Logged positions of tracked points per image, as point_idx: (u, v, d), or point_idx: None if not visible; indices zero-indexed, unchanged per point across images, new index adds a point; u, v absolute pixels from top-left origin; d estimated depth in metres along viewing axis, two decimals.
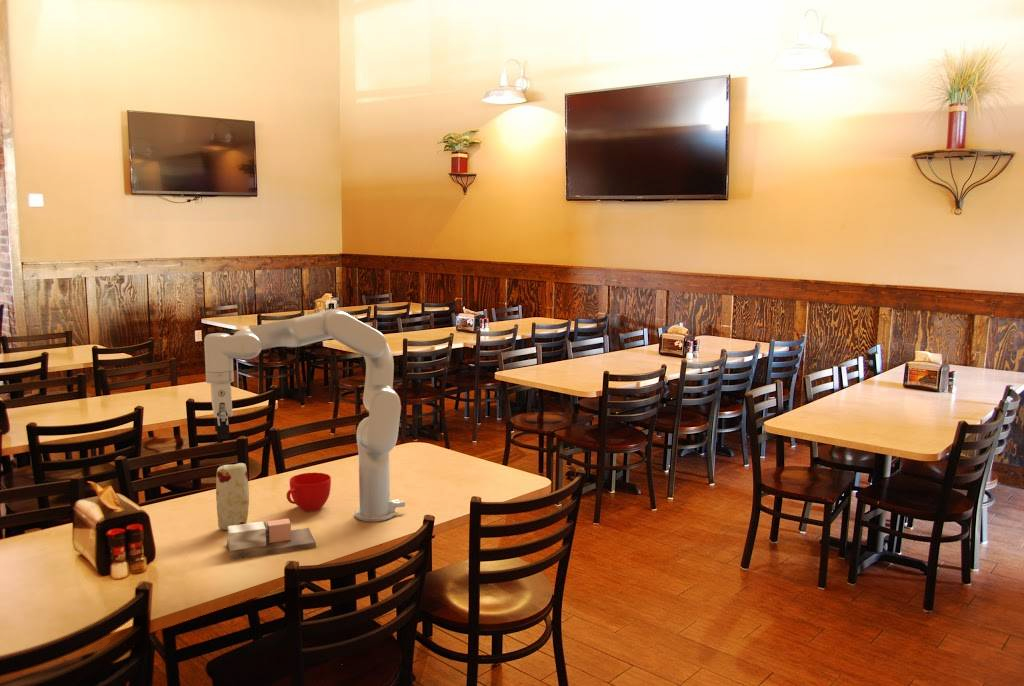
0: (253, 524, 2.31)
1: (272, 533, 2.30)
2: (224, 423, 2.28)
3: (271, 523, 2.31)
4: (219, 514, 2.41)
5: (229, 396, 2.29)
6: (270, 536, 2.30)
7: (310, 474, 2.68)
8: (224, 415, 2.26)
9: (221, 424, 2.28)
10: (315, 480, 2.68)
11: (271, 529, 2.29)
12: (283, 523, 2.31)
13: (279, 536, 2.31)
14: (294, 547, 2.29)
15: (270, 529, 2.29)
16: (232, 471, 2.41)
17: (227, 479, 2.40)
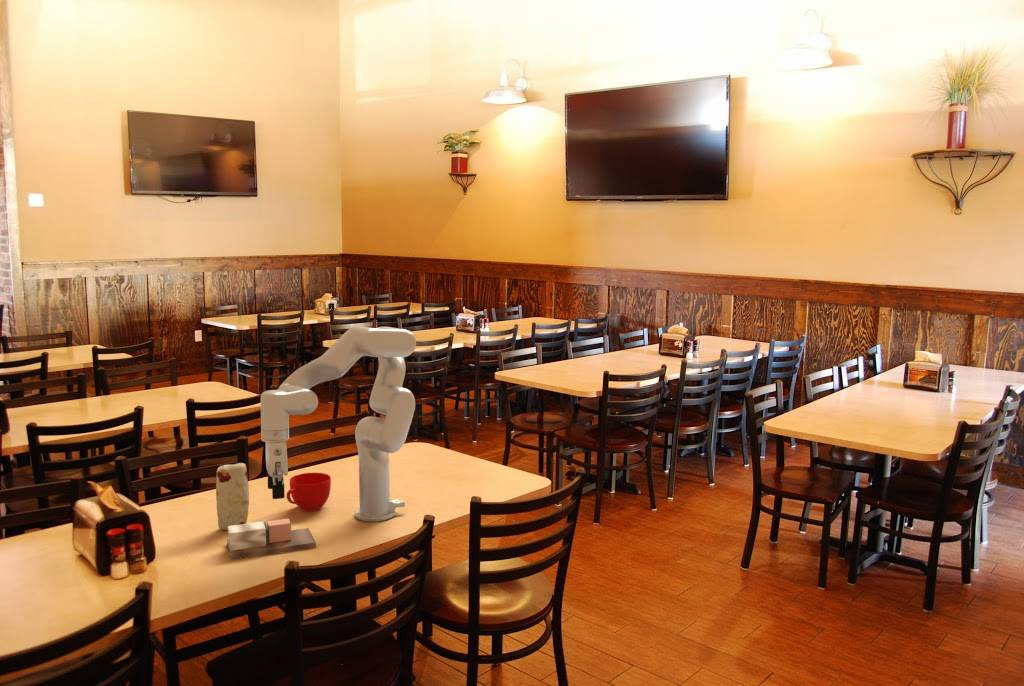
0: (253, 524, 2.31)
1: (272, 533, 2.30)
2: (280, 483, 2.24)
3: (271, 523, 2.31)
4: (219, 514, 2.41)
5: (285, 455, 2.25)
6: (270, 536, 2.30)
7: (310, 474, 2.68)
8: (281, 475, 2.22)
9: (277, 484, 2.24)
10: (315, 480, 2.68)
11: (271, 529, 2.29)
12: (283, 523, 2.31)
13: (279, 536, 2.31)
14: (294, 547, 2.29)
15: (270, 529, 2.29)
16: (232, 471, 2.41)
17: (227, 479, 2.40)
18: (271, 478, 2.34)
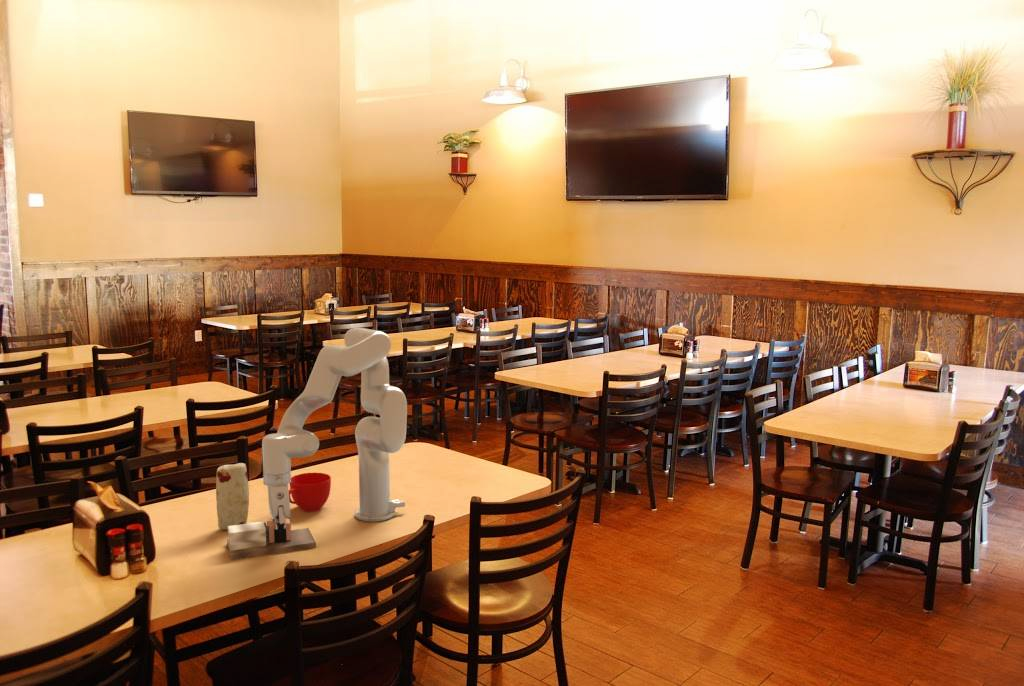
0: (253, 524, 2.31)
1: (272, 533, 2.30)
2: (282, 527, 2.28)
3: (271, 523, 2.31)
4: (219, 514, 2.41)
5: (287, 498, 2.27)
6: (270, 536, 2.30)
7: (310, 474, 2.68)
8: (283, 524, 2.26)
9: (279, 528, 2.28)
10: (315, 480, 2.68)
11: (271, 529, 2.29)
12: None
13: None
14: (294, 547, 2.29)
15: (270, 529, 2.29)
16: (232, 471, 2.41)
17: (227, 479, 2.40)
18: None
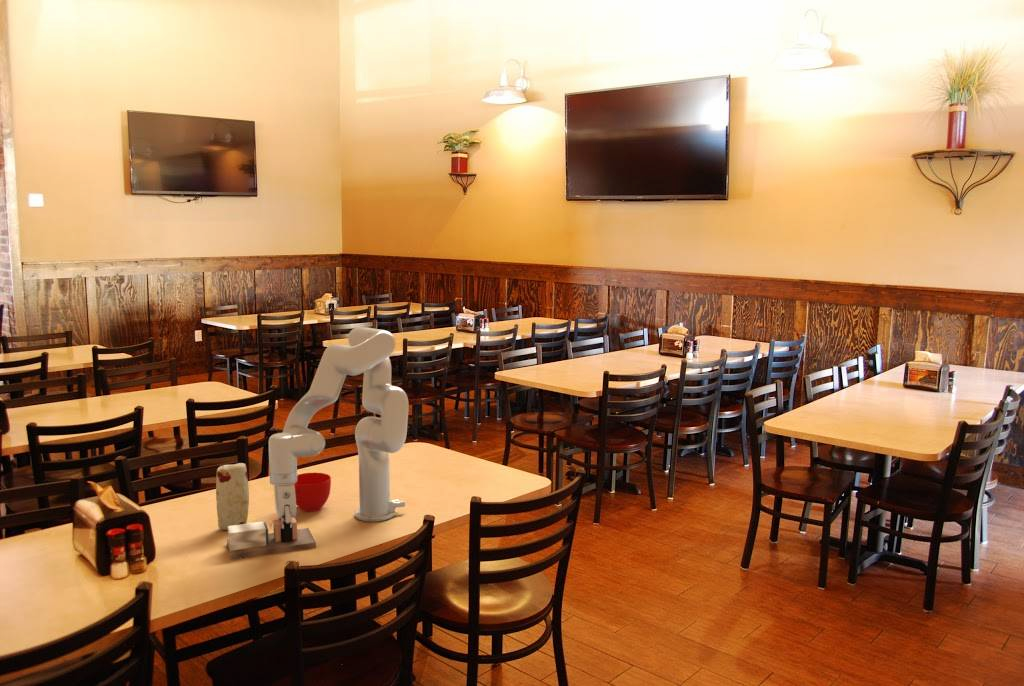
0: (253, 524, 2.31)
1: (278, 533, 2.30)
2: (288, 526, 2.29)
3: (277, 522, 2.32)
4: (219, 514, 2.41)
5: (294, 497, 2.28)
6: (276, 535, 2.30)
7: (310, 474, 2.68)
8: (289, 523, 2.27)
9: (285, 527, 2.29)
10: (315, 480, 2.68)
11: (277, 528, 2.30)
12: None
13: None
14: (294, 547, 2.29)
15: (276, 528, 2.30)
16: (232, 471, 2.41)
17: (227, 479, 2.40)
18: None
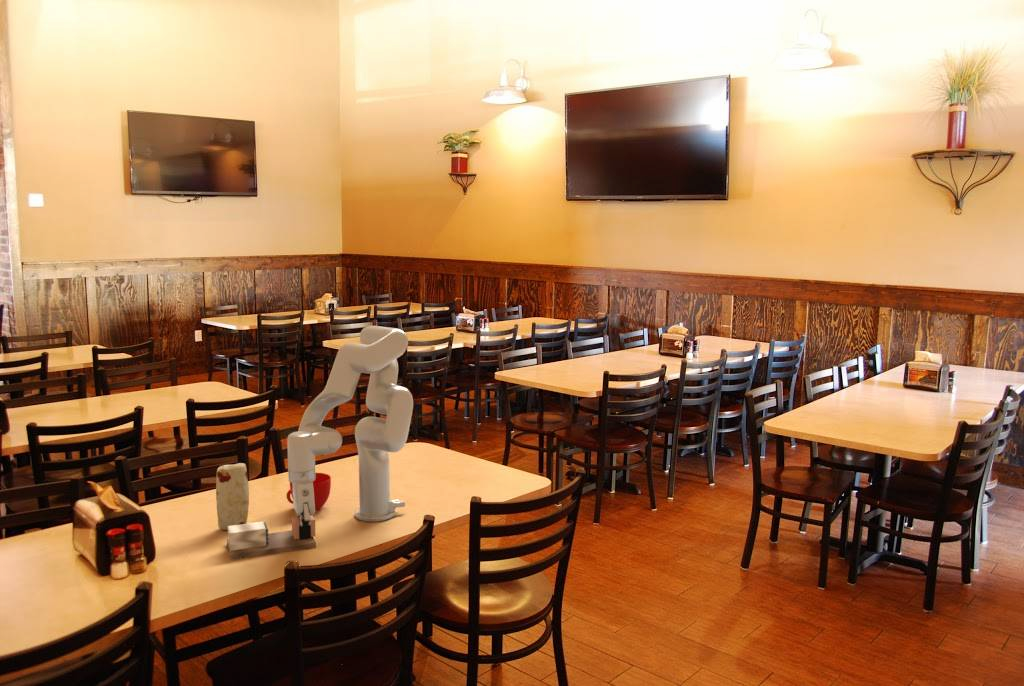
0: (253, 524, 2.31)
1: (297, 530, 2.32)
2: (306, 524, 2.31)
3: (296, 520, 2.34)
4: (219, 514, 2.41)
5: (312, 495, 2.30)
6: (295, 532, 2.32)
7: None
8: (308, 520, 2.29)
9: (304, 525, 2.31)
10: (315, 480, 2.68)
11: (296, 526, 2.32)
12: None
13: None
14: (294, 547, 2.29)
15: (295, 526, 2.32)
16: (232, 471, 2.41)
17: (227, 479, 2.40)
18: None
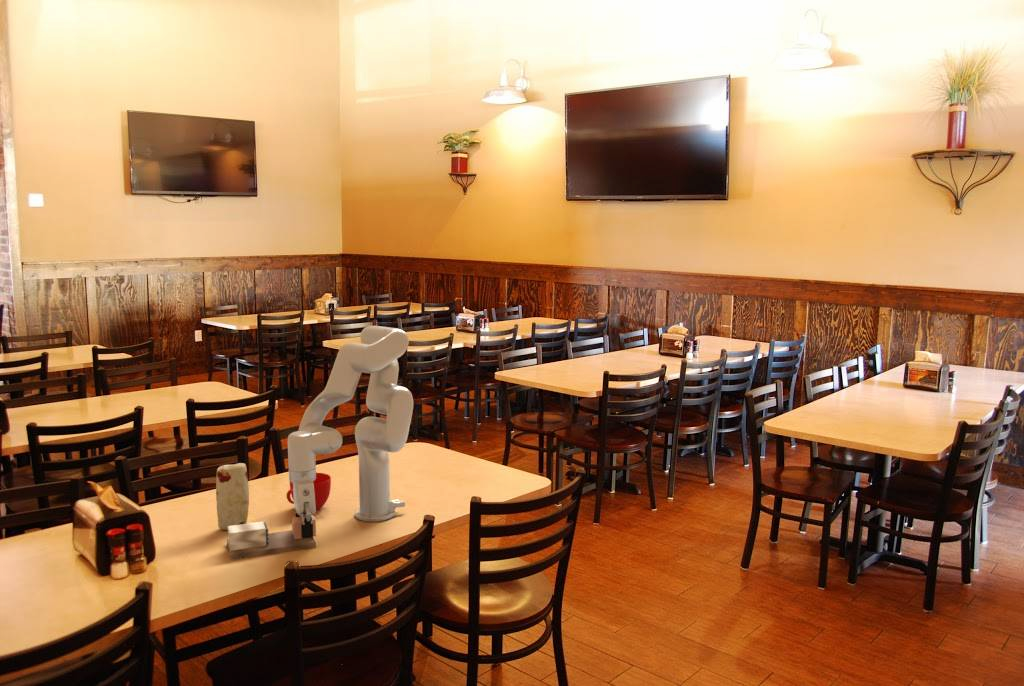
0: (253, 524, 2.31)
1: (297, 530, 2.32)
2: (309, 522, 2.29)
3: (296, 520, 2.34)
4: (219, 514, 2.41)
5: (313, 495, 2.30)
6: (295, 532, 2.32)
7: None
8: (309, 515, 2.27)
9: (306, 523, 2.29)
10: (315, 480, 2.68)
11: (296, 525, 2.32)
12: None
13: None
14: (294, 547, 2.29)
15: (295, 525, 2.32)
16: (232, 471, 2.41)
17: (227, 479, 2.40)
18: (299, 516, 2.39)
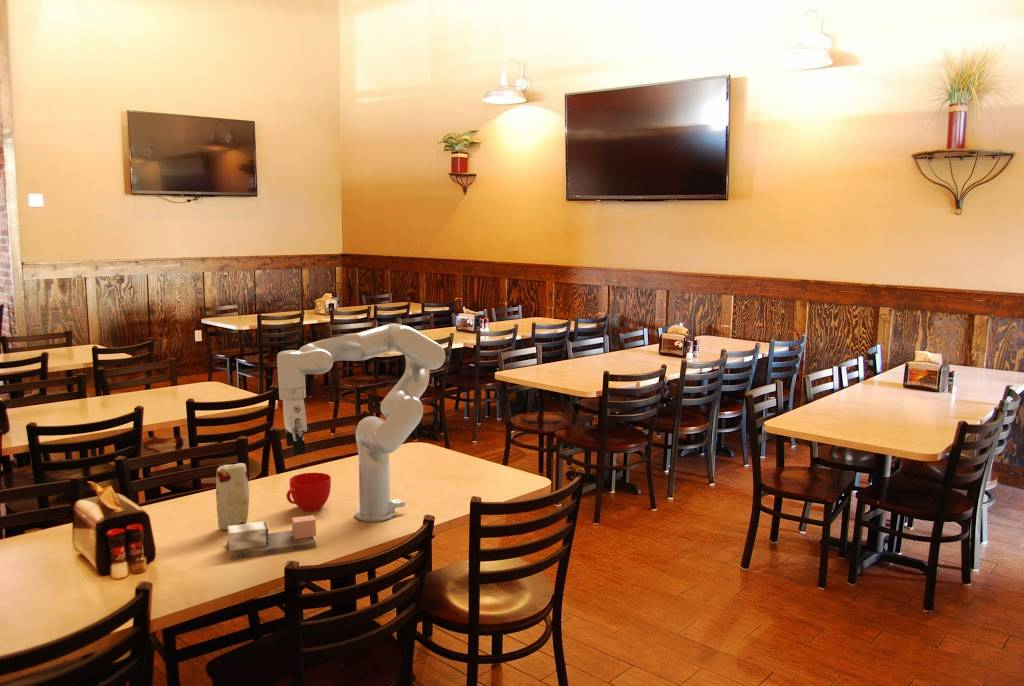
0: (253, 524, 2.31)
1: (297, 530, 2.32)
2: (300, 438, 2.33)
3: (296, 520, 2.34)
4: (219, 514, 2.41)
5: (304, 412, 2.34)
6: (295, 532, 2.32)
7: (310, 474, 2.68)
8: (301, 431, 2.30)
9: (298, 439, 2.32)
10: (315, 480, 2.68)
11: (296, 525, 2.32)
12: (308, 520, 2.34)
13: (304, 532, 2.33)
14: (294, 547, 2.29)
15: (295, 525, 2.32)
16: (232, 471, 2.41)
17: (227, 479, 2.40)
18: (289, 436, 2.42)
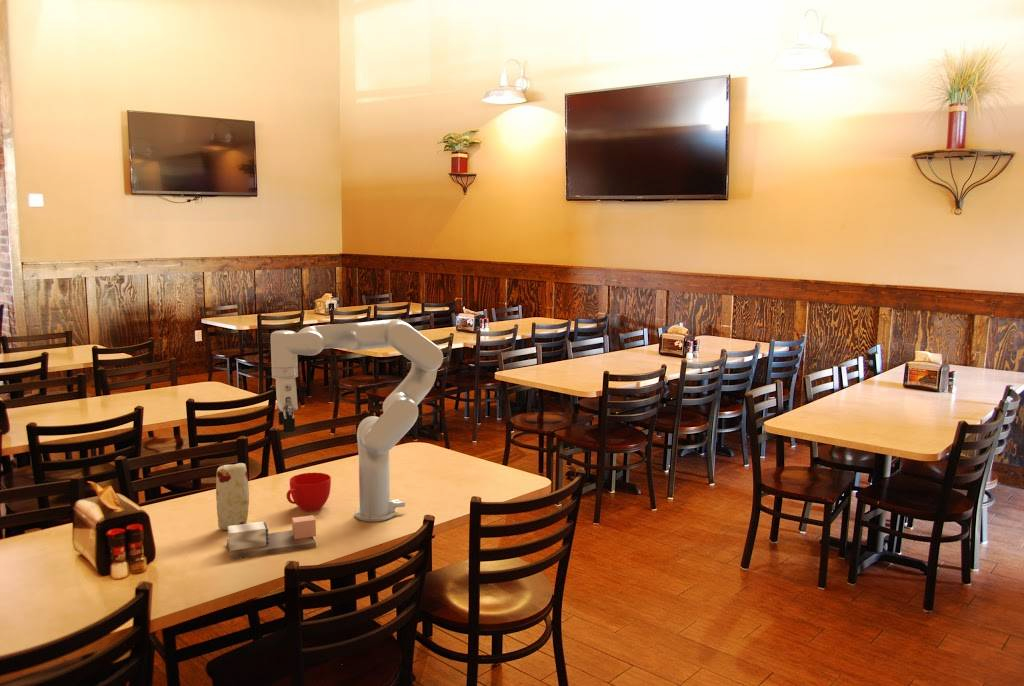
0: (253, 524, 2.31)
1: (297, 530, 2.32)
2: (290, 416, 2.38)
3: (296, 520, 2.34)
4: (219, 514, 2.41)
5: (295, 391, 2.39)
6: (295, 532, 2.32)
7: (310, 474, 2.68)
8: (291, 409, 2.36)
9: (287, 417, 2.38)
10: (315, 480, 2.68)
11: (296, 525, 2.32)
12: (308, 520, 2.34)
13: (304, 532, 2.33)
14: (294, 547, 2.29)
15: (295, 525, 2.32)
16: (232, 471, 2.41)
17: (227, 479, 2.40)
18: (282, 414, 2.48)
